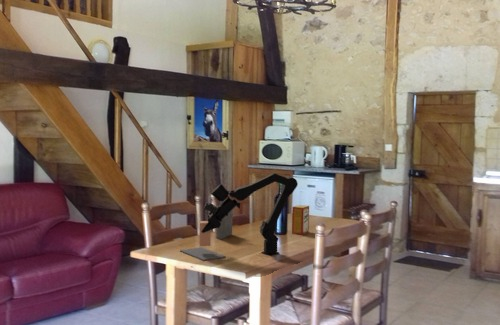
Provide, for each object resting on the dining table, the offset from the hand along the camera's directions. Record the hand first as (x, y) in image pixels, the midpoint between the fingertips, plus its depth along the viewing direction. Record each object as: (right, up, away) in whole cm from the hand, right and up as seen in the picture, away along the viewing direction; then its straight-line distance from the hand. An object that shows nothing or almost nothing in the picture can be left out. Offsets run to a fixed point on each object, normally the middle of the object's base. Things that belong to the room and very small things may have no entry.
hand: (202, 231), depth 255 cm
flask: (+8, -9, +44) cm, 45 cm away
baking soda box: (+52, -9, +58) cm, 78 cm away
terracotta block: (+1, -7, +1) cm, 7 cm away
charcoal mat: (0, -11, +1) cm, 11 cm away
